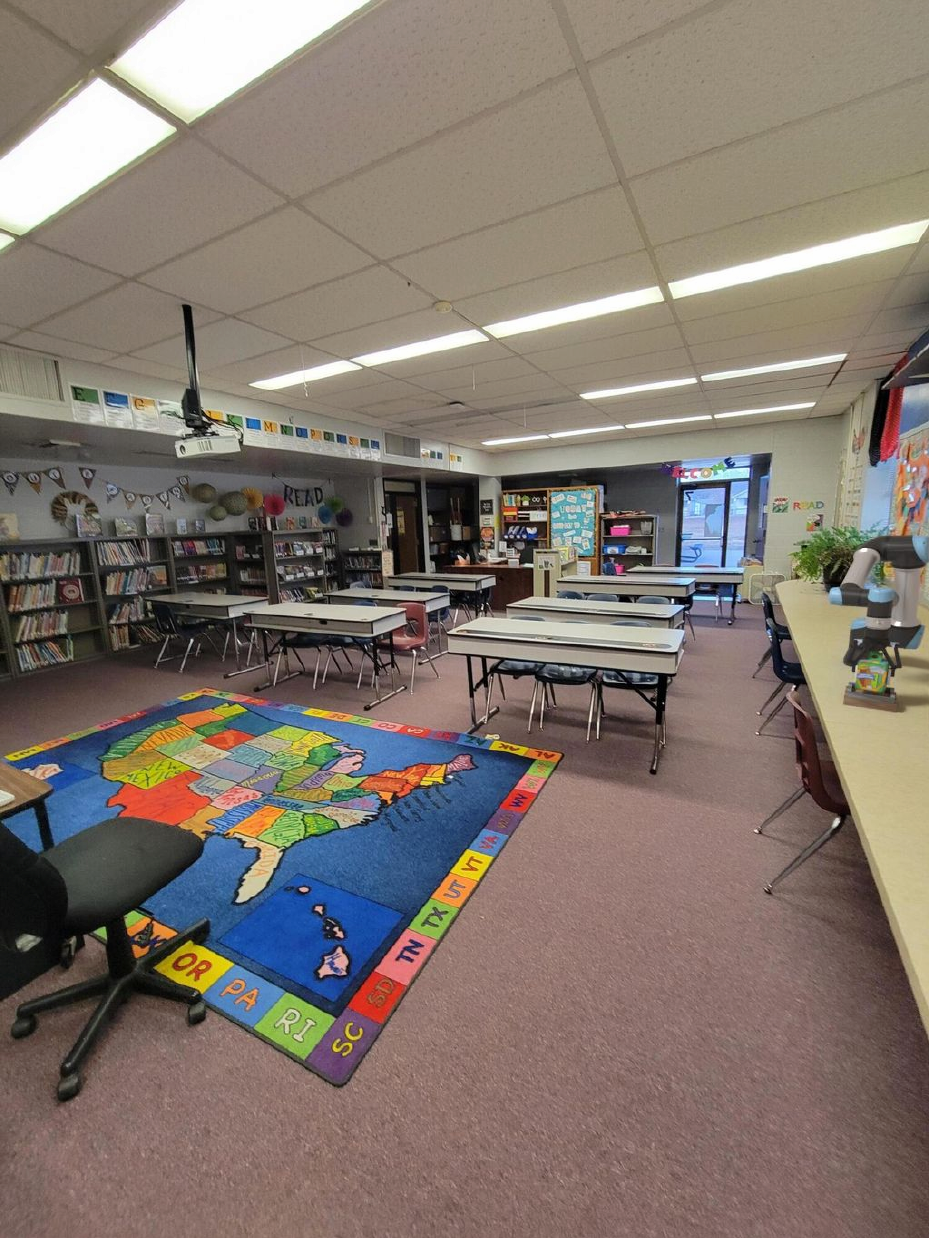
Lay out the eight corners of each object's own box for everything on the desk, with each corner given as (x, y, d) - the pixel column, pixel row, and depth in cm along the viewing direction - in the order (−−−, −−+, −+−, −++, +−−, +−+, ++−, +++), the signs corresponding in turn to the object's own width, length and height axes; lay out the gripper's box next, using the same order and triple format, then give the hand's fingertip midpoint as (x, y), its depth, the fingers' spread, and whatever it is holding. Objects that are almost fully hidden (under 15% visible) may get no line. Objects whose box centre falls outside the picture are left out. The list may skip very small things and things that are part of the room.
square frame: (845, 692, 208) (846, 681, 207) (895, 699, 198) (896, 687, 197) (843, 704, 196) (844, 692, 195) (896, 712, 186) (897, 699, 185)
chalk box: (854, 689, 196) (858, 653, 193) (857, 683, 202) (861, 648, 199) (884, 694, 189) (888, 657, 186) (887, 687, 196) (891, 651, 193)
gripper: (841, 626, 195) (836, 680, 199) (916, 632, 181) (909, 689, 185) (842, 623, 201) (837, 675, 205) (915, 628, 187) (908, 684, 191)
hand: (871, 682), depth 195 cm, fingers closed on chalk box, 9 cm apart
